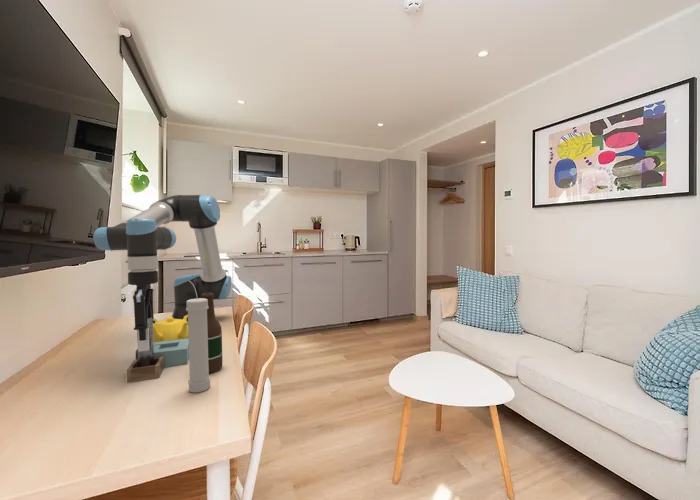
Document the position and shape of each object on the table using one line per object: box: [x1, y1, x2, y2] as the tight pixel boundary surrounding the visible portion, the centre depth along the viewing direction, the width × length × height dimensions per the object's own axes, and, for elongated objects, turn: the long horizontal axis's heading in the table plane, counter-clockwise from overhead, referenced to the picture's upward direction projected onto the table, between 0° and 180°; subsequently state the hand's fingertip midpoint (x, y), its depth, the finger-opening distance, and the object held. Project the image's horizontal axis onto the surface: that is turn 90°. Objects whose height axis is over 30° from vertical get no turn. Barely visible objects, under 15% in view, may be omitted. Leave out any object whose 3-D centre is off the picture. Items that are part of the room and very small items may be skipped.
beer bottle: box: [201, 292, 223, 375], centre depth 98 cm, size 8×8×24 cm
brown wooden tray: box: [126, 356, 165, 383], centre depth 95 cm, size 8×8×4 cm
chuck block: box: [153, 338, 189, 368], centre depth 106 cm, size 12×12×5 cm
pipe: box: [186, 281, 211, 393], centre depth 85 cm, size 6×6×30 cm
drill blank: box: [136, 317, 154, 367], centre depth 95 cm, size 4×4×16 cm
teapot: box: [153, 315, 189, 342], centre depth 126 cm, size 15×14×10 cm
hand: (145, 347), depth 95 cm, fingers closed on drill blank, 4 cm apart
